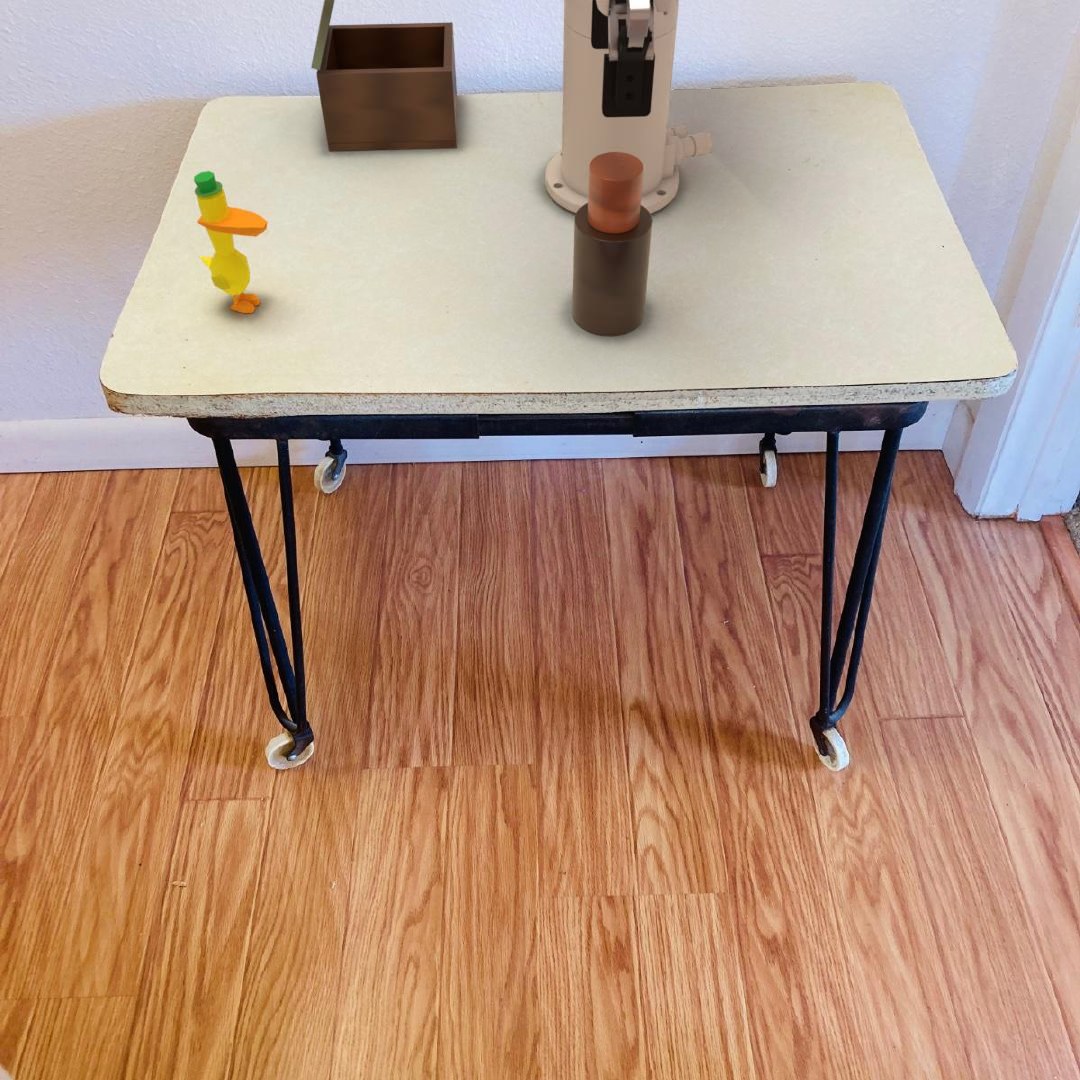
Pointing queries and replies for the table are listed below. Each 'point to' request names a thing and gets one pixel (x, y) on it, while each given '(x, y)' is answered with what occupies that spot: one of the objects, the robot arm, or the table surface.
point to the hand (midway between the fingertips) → (619, 79)
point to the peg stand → (610, 275)
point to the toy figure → (227, 240)
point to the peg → (614, 192)
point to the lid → (322, 33)
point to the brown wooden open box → (389, 86)
